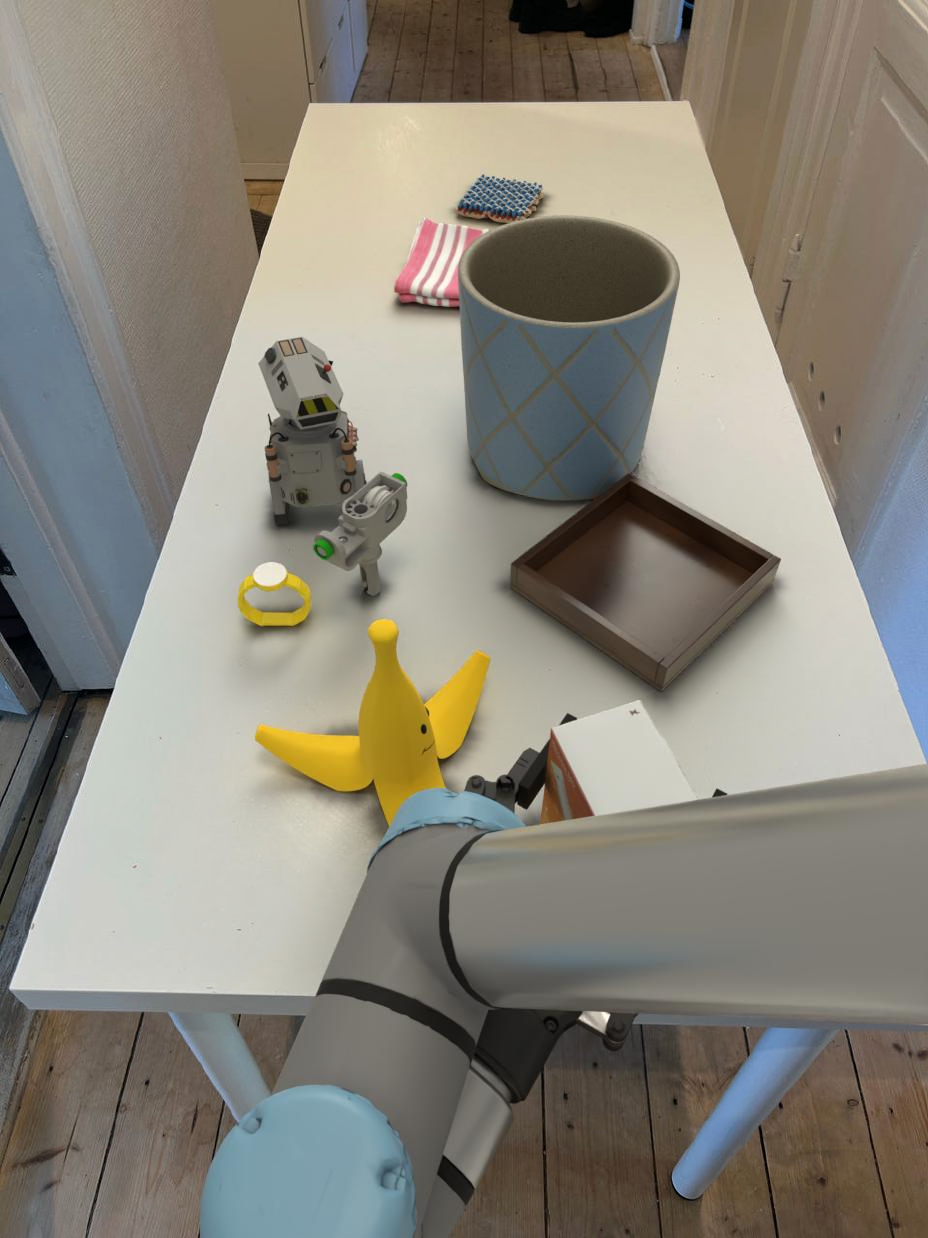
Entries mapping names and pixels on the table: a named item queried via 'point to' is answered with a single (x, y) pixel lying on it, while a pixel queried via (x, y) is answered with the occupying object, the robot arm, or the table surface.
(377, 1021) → the robot arm
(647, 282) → the planter
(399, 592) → the table surface
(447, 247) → the dish towel
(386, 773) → the banana peel
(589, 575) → the wooden tray
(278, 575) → the watch
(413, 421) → the table surface
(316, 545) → the mechanical component
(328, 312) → the table surface
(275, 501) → the figurine
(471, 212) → the woven mat
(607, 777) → the small box
